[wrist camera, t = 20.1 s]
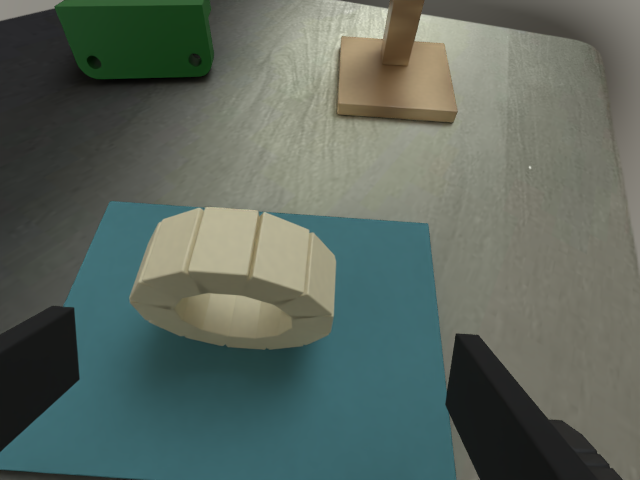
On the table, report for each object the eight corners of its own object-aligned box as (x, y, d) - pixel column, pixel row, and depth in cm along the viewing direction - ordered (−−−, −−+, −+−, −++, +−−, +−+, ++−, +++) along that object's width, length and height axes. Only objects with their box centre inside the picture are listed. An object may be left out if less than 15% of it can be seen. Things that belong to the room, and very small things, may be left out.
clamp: (206, 88, 41) (229, -3, 36) (199, 113, 37) (224, 14, 32) (78, 42, 37) (83, -69, 32) (54, 65, 33) (54, -60, 28)
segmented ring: (329, 304, 23) (342, 215, 16) (327, 354, 22) (340, 282, 14) (179, 293, 23) (120, 200, 16) (165, 343, 22) (93, 264, 14)
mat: (426, 228, 28) (428, 223, 27) (455, 501, 19) (459, 502, 18) (113, 205, 28) (109, 200, 27) (-2, 469, 19) (-10, 469, 18)
